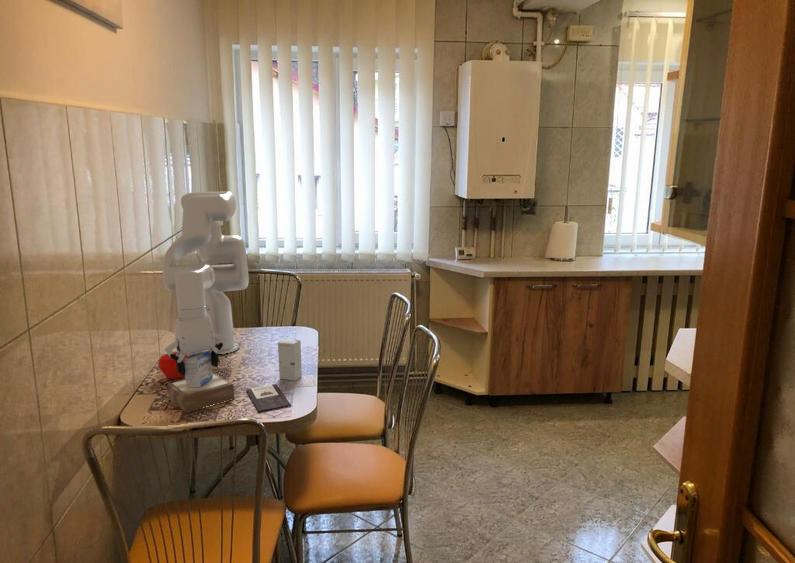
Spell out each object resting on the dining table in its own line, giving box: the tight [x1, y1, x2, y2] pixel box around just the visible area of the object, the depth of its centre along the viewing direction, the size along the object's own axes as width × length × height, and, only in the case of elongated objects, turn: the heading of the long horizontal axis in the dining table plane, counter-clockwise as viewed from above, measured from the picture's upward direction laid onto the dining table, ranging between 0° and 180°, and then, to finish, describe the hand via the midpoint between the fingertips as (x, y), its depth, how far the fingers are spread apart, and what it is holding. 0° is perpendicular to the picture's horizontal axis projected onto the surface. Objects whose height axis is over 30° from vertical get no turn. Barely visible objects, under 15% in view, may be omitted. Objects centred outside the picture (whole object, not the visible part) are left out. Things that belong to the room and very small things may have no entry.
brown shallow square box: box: [167, 371, 235, 414], centre depth 173 cm, size 14×14×5 cm
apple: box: [158, 351, 189, 380], centre depth 192 cm, size 9×9×8 cm
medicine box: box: [183, 350, 213, 388], centre depth 172 cm, size 8×4×9 cm, turn 171°
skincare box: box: [277, 338, 303, 381], centre depth 187 cm, size 6×4×12 cm
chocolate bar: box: [246, 383, 292, 413], centre depth 173 cm, size 9×1×18 cm
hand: (198, 370), depth 172 cm, fingers open, 9 cm apart
